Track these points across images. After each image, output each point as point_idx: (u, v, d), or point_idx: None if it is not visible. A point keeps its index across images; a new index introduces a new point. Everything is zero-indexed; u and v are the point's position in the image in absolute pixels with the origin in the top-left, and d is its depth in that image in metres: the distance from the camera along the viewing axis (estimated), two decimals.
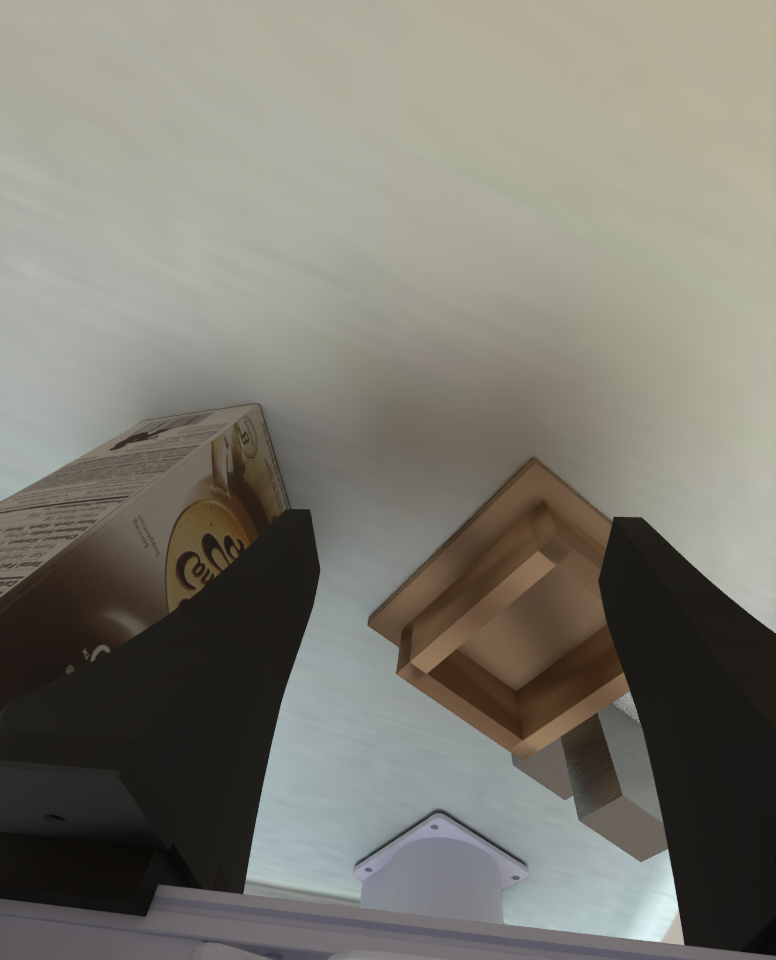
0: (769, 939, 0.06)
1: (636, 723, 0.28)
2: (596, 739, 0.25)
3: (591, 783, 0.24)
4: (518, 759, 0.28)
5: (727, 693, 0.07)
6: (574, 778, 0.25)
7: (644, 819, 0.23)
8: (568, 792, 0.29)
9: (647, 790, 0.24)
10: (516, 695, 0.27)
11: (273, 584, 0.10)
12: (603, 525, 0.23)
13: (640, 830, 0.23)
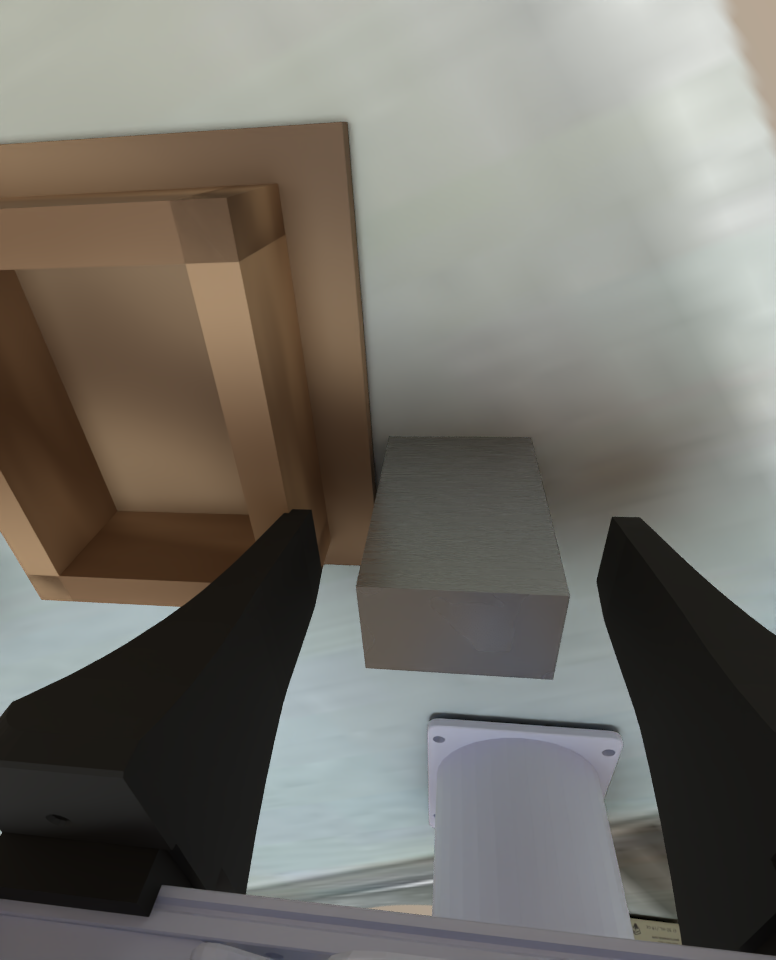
0: (766, 939, 0.06)
1: (513, 440, 0.14)
2: None
3: None
4: None
5: (724, 694, 0.07)
6: None
7: (447, 604, 0.10)
8: None
9: (468, 544, 0.11)
10: None
11: (275, 584, 0.10)
12: (41, 153, 0.11)
13: (472, 628, 0.10)
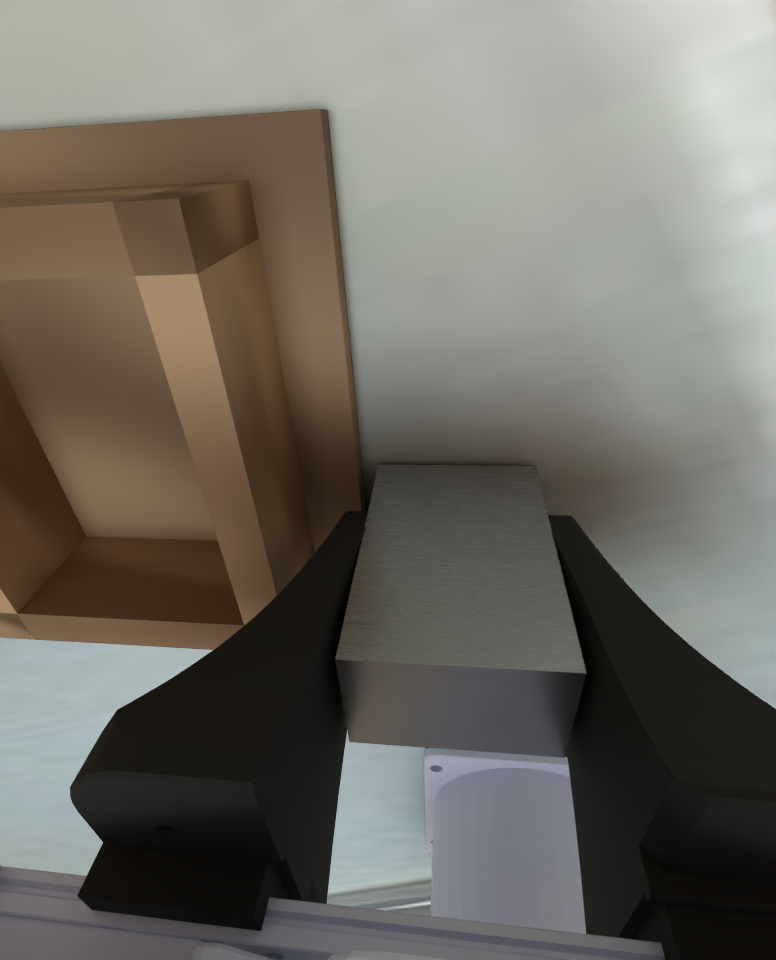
0: (641, 925, 0.07)
1: (516, 470, 0.13)
2: None
3: None
4: None
5: (612, 686, 0.07)
6: None
7: (443, 680, 0.09)
8: None
9: (466, 603, 0.09)
10: None
11: (347, 587, 0.10)
12: None
13: (472, 704, 0.09)
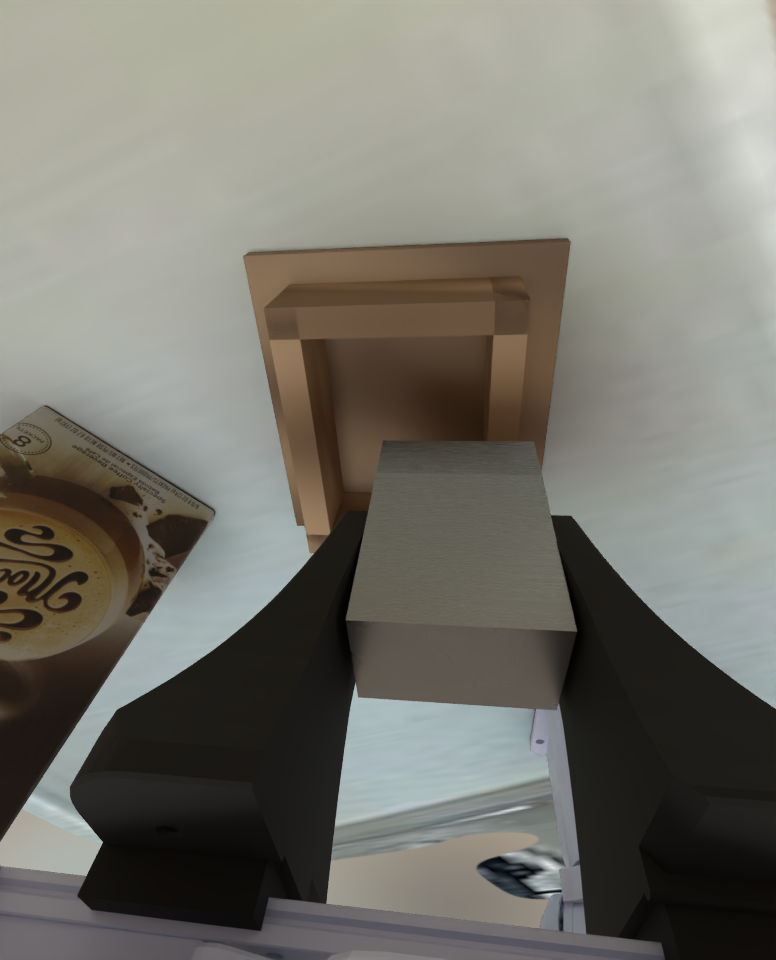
0: (641, 925, 0.07)
1: (515, 445, 0.13)
2: None
3: None
4: None
5: (612, 686, 0.07)
6: None
7: (445, 638, 0.09)
8: None
9: (466, 569, 0.10)
10: None
11: (347, 587, 0.10)
12: (365, 257, 0.17)
13: (471, 661, 0.10)
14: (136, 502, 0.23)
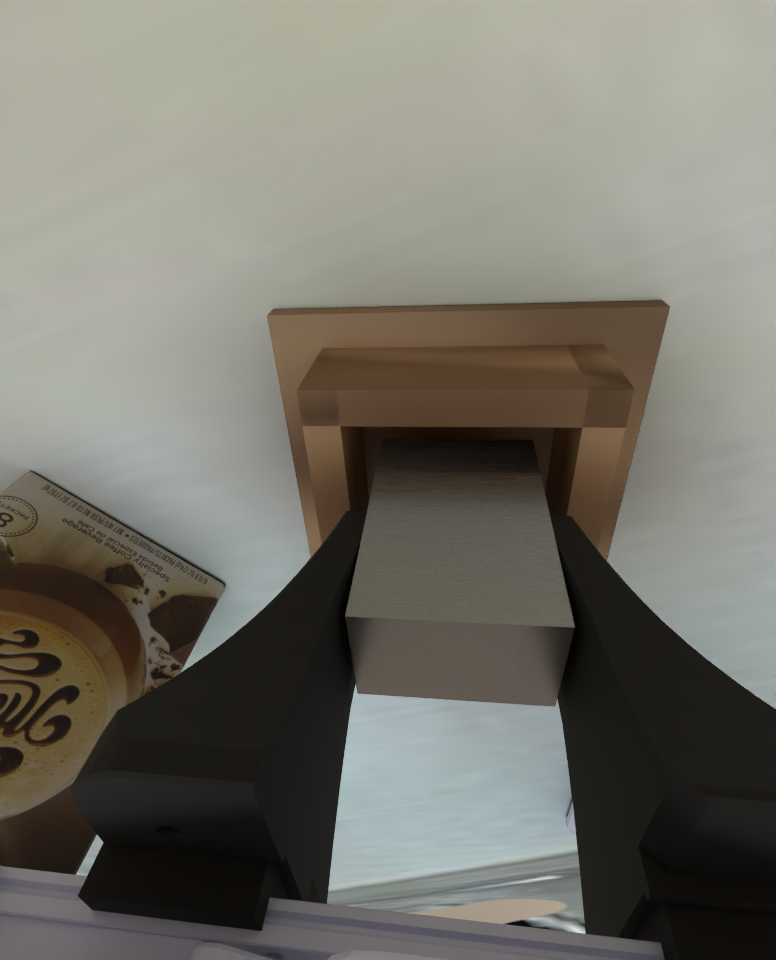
0: (641, 924, 0.07)
1: (514, 443, 0.13)
2: None
3: None
4: None
5: (612, 686, 0.07)
6: None
7: (443, 634, 0.09)
8: None
9: (465, 566, 0.10)
10: None
11: (348, 587, 0.10)
12: (416, 319, 0.14)
13: (470, 657, 0.10)
14: (137, 585, 0.20)
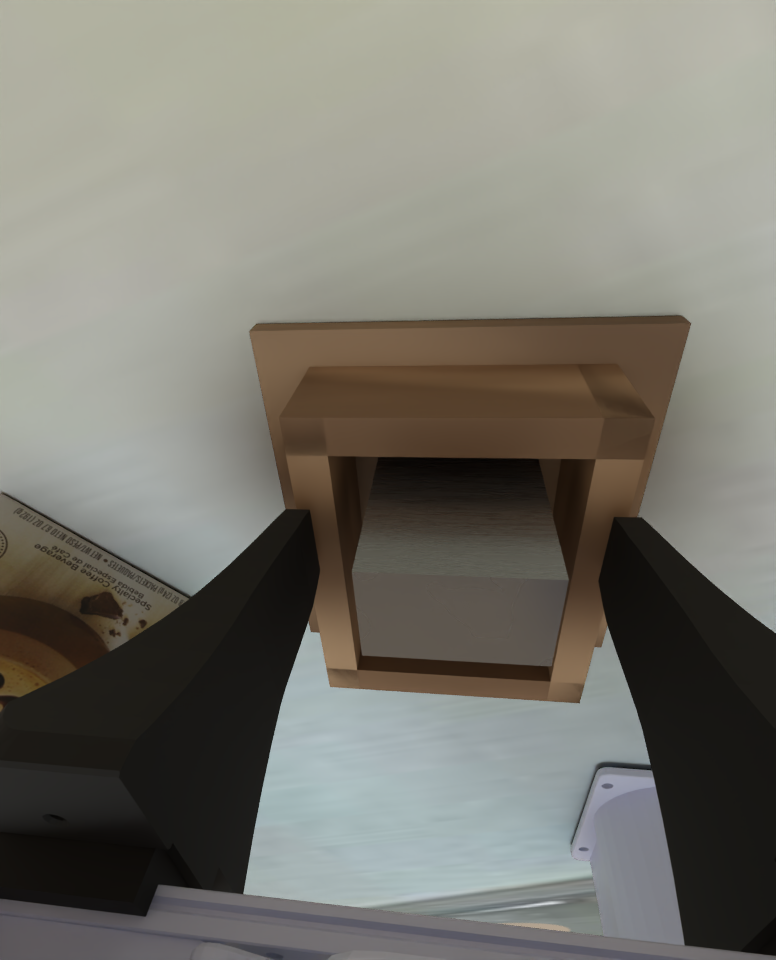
0: (769, 939, 0.06)
1: None
2: None
3: None
4: None
5: (727, 693, 0.07)
6: None
7: (445, 589, 0.10)
8: None
9: (465, 530, 0.11)
10: None
11: (273, 584, 0.10)
12: (412, 336, 0.13)
13: (469, 614, 0.10)
14: (115, 615, 0.18)
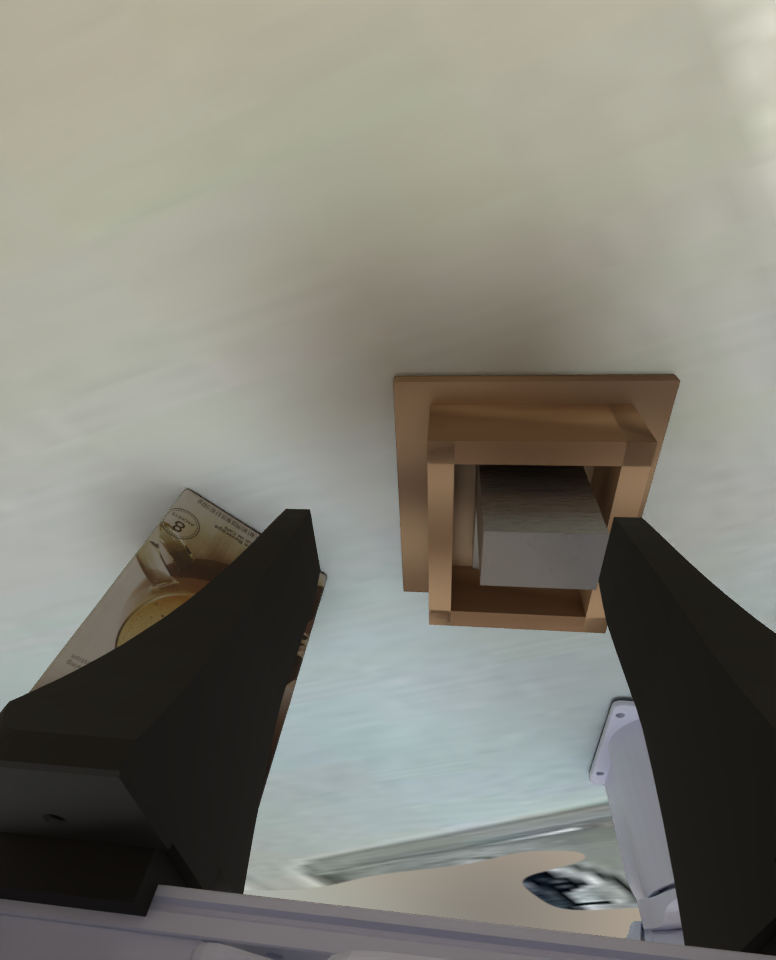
0: (769, 939, 0.06)
1: None
2: (479, 490, 0.20)
3: (480, 539, 0.19)
4: (473, 560, 0.24)
5: (727, 694, 0.07)
6: (478, 545, 0.20)
7: (537, 541, 0.17)
8: None
9: (545, 508, 0.18)
10: None
11: (273, 584, 0.10)
12: (500, 386, 0.21)
13: (550, 556, 0.17)
14: None
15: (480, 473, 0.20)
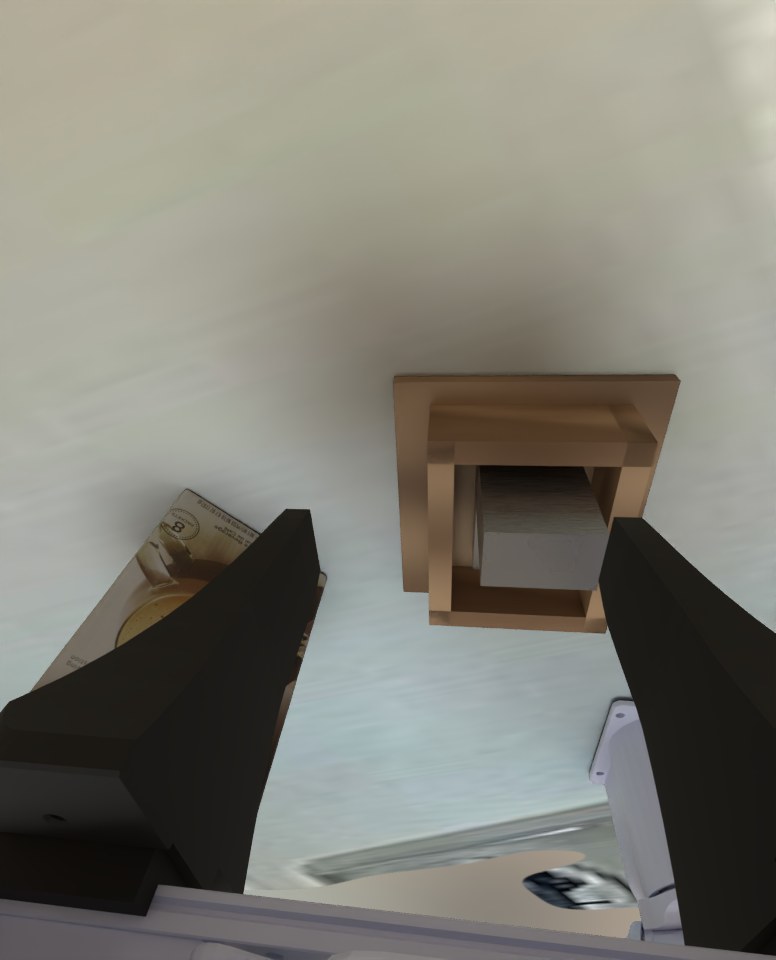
0: (769, 939, 0.06)
1: None
2: (479, 491, 0.20)
3: (480, 539, 0.19)
4: (473, 560, 0.24)
5: (726, 694, 0.07)
6: (478, 545, 0.20)
7: (537, 542, 0.17)
8: None
9: (545, 509, 0.18)
10: None
11: (273, 584, 0.10)
12: (501, 386, 0.20)
13: (550, 557, 0.17)
14: None
15: (480, 473, 0.20)
